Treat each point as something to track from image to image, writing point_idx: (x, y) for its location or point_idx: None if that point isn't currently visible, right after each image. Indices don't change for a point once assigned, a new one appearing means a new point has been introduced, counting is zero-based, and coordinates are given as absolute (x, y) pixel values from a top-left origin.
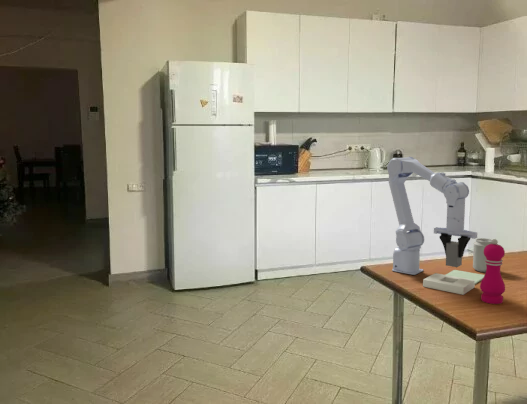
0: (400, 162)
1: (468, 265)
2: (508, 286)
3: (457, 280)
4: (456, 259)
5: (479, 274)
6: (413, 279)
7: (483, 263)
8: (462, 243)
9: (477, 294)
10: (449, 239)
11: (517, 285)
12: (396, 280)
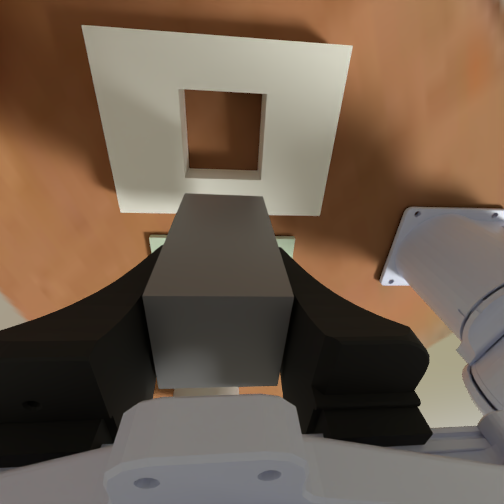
0: None
1: (260, 393)
2: (48, 285)
3: (182, 156)
4: (182, 215)
5: None
6: (401, 148)
7: (192, 393)
8: (65, 315)
9: (57, 96)
10: (291, 386)
11: (36, 310)
12: (485, 74)
